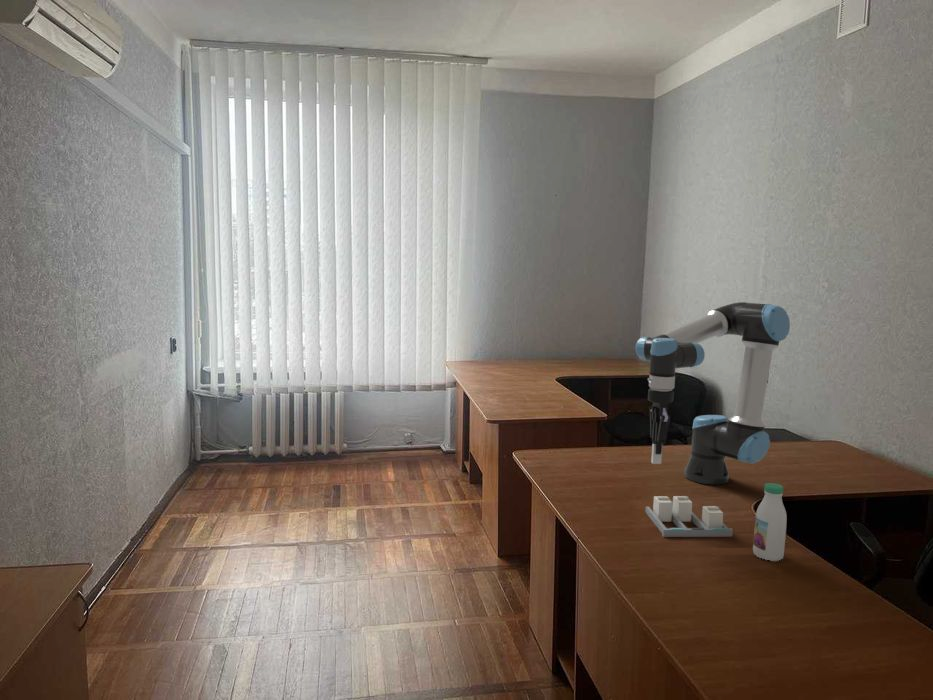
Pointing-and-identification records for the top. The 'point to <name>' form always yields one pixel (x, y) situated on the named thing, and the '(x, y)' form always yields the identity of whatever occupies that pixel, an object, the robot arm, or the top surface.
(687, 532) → the switch board
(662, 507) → the white block with handle
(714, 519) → the white rectangular block
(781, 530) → the milk bottle
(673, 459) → the top surface
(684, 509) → the white ridged block
